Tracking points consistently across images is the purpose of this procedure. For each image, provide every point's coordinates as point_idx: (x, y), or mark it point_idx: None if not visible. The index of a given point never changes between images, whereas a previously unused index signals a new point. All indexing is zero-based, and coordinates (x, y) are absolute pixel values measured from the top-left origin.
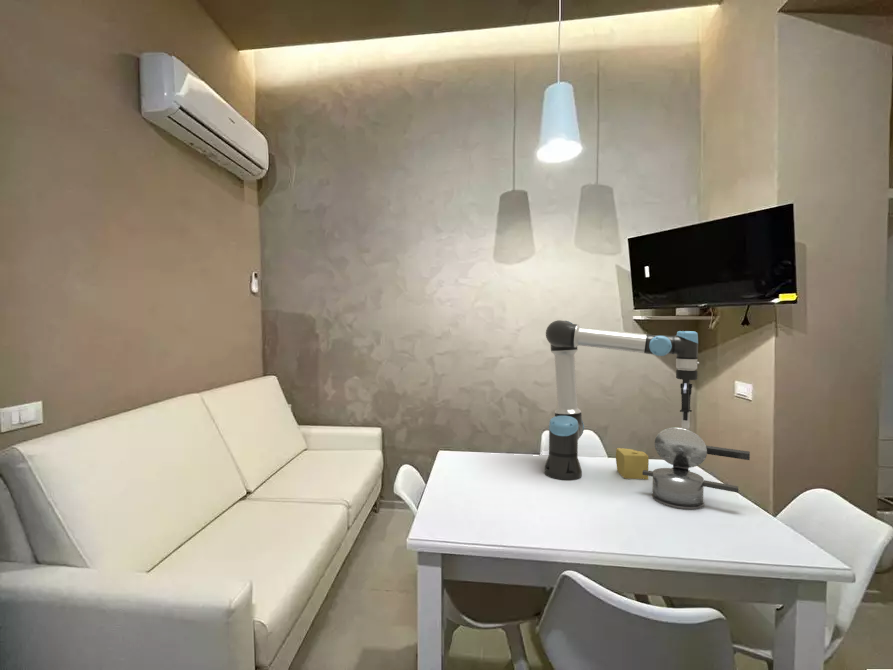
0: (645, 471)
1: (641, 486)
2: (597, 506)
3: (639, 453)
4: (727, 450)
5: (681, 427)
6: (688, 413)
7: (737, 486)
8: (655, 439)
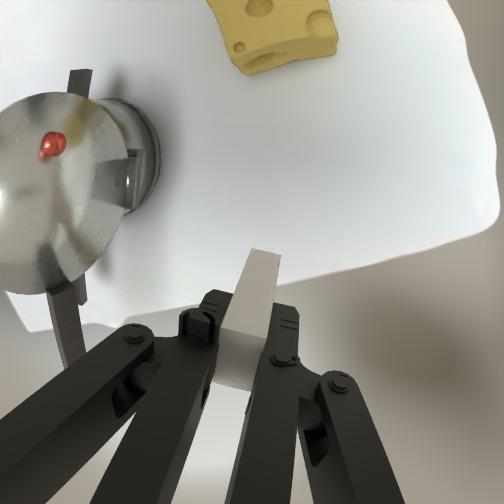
0: (73, 77)
1: (169, 63)
2: (27, 27)
3: (256, 23)
4: (58, 345)
5: (251, 249)
6: (216, 369)
7: (79, 303)
8: (24, 98)
